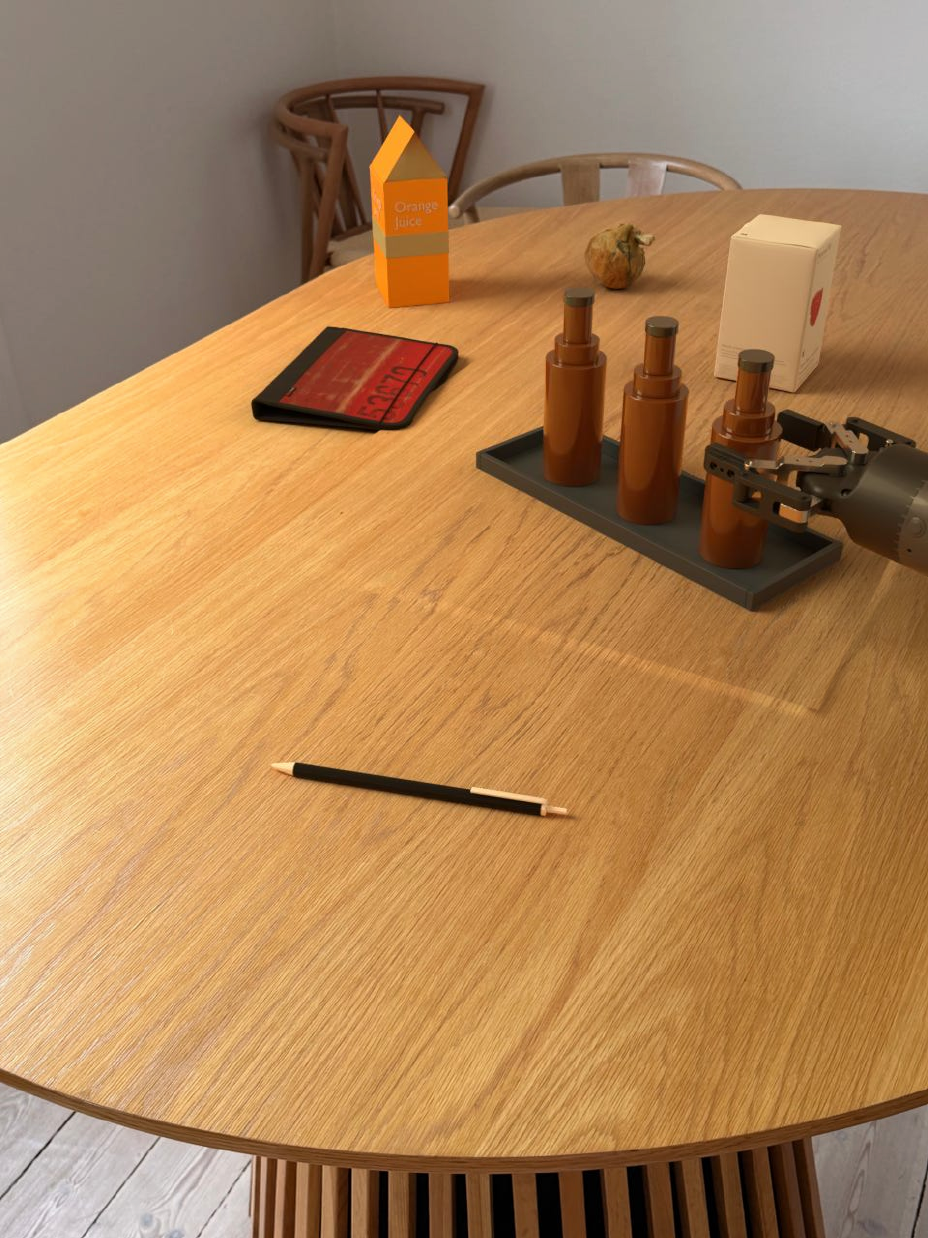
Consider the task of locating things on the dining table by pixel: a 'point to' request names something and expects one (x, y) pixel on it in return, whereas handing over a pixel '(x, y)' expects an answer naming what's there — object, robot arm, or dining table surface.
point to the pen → (423, 788)
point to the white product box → (777, 296)
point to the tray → (668, 542)
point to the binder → (356, 381)
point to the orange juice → (409, 221)
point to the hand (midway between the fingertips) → (744, 437)
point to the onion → (617, 255)
